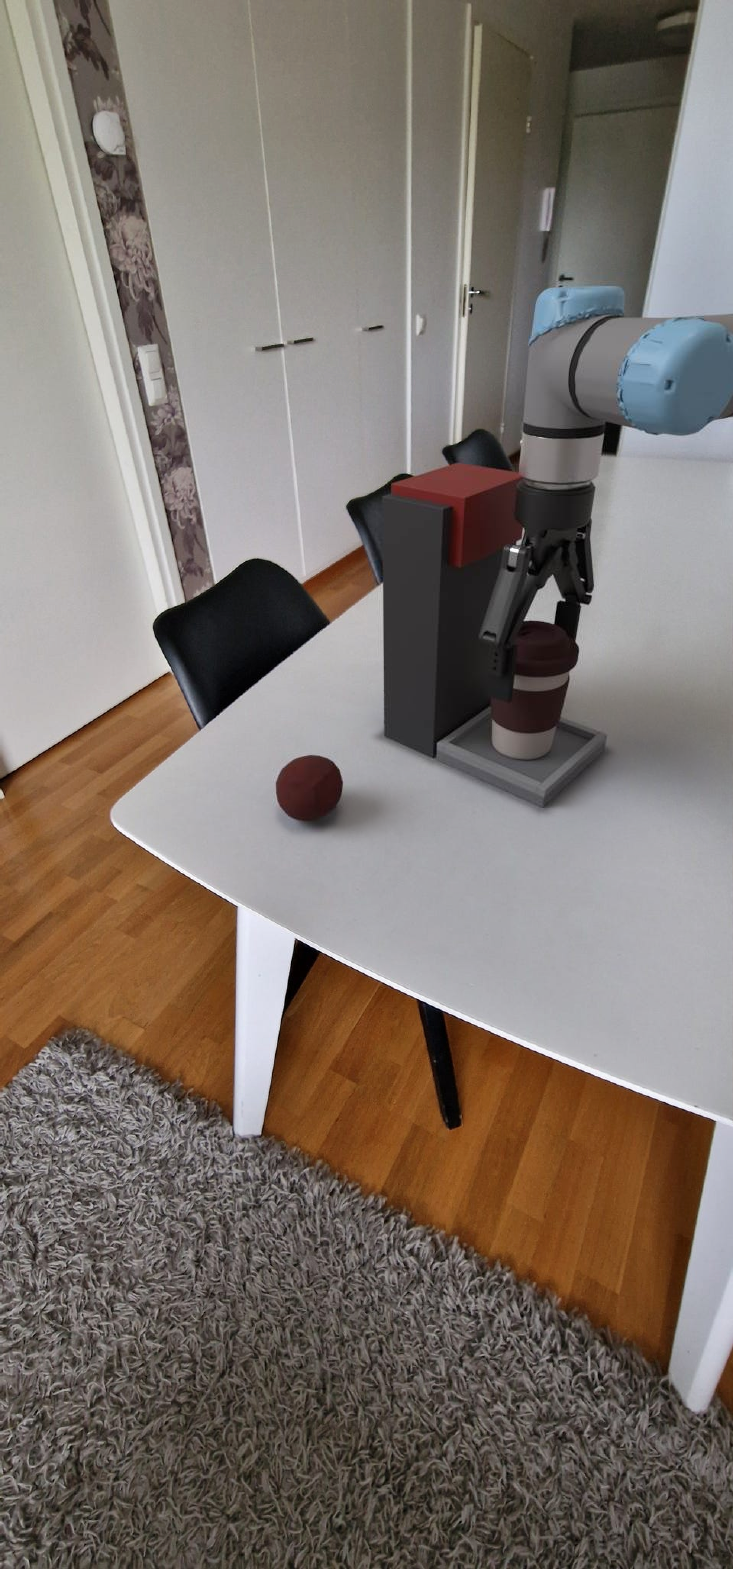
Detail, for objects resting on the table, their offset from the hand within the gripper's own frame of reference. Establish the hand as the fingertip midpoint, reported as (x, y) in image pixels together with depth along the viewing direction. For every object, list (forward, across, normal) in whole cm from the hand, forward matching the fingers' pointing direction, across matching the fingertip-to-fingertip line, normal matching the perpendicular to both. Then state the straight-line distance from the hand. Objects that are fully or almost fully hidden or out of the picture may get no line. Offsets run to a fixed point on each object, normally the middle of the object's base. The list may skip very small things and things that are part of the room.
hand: (531, 676), depth 81 cm
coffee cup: (+10, 0, 0) cm, 10 cm away
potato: (+11, +25, -12) cm, 30 cm away
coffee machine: (+11, 0, -5) cm, 12 cm away
